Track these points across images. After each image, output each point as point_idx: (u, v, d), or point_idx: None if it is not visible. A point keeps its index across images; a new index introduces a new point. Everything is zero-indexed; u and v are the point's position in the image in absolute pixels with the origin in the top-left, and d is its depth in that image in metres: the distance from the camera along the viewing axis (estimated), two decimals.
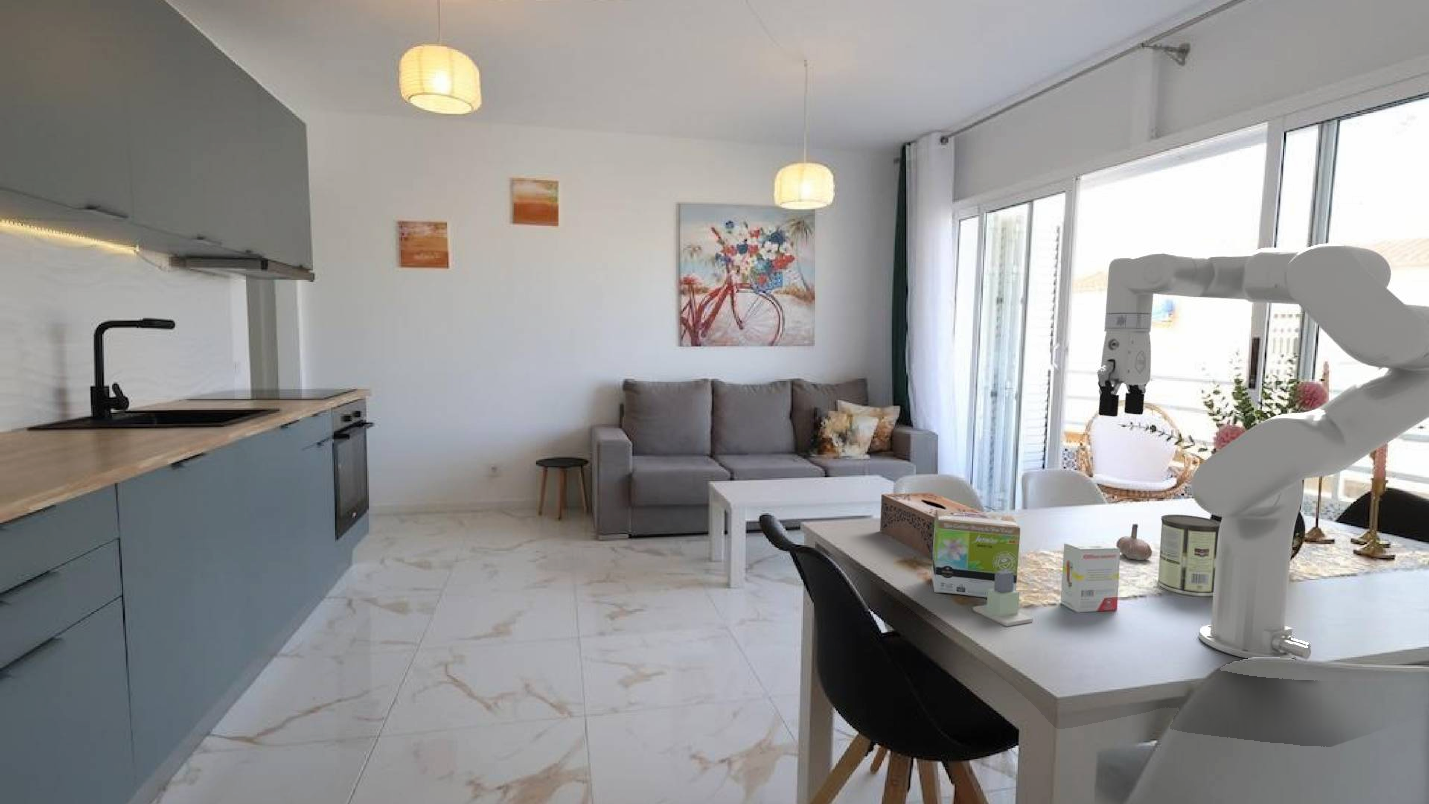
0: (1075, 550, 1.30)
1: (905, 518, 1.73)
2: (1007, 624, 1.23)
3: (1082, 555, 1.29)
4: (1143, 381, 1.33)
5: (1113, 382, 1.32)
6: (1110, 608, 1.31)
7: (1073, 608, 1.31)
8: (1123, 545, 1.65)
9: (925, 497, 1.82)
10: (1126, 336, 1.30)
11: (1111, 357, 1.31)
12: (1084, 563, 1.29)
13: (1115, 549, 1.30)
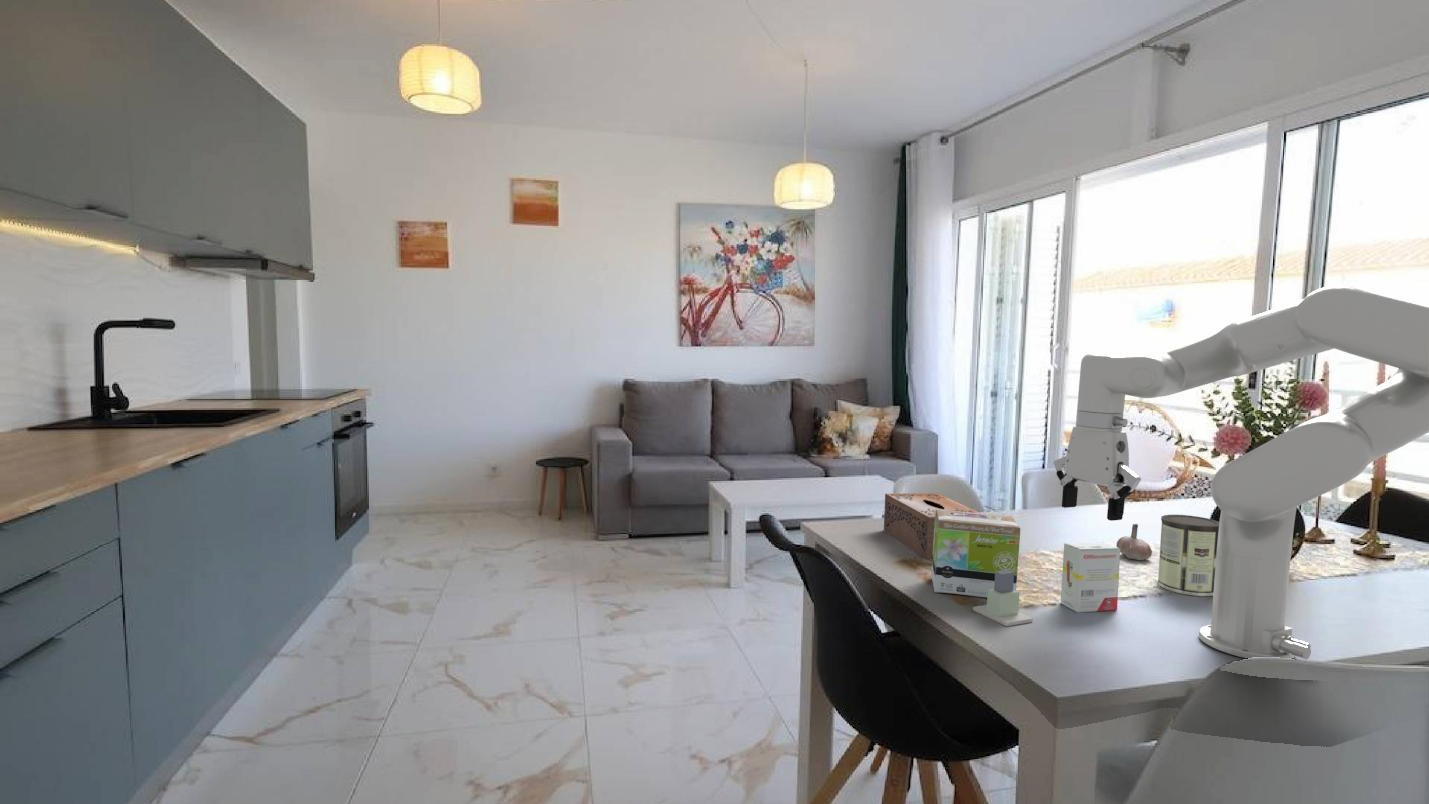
0: (1075, 550, 1.30)
1: (904, 517, 1.73)
2: (1007, 624, 1.23)
3: (1082, 555, 1.29)
4: None
5: (1116, 484, 1.27)
6: (1110, 608, 1.31)
7: (1073, 608, 1.31)
8: (1123, 545, 1.65)
9: (928, 497, 1.82)
10: None
11: (1120, 460, 1.26)
12: (1084, 563, 1.29)
13: (1115, 549, 1.30)
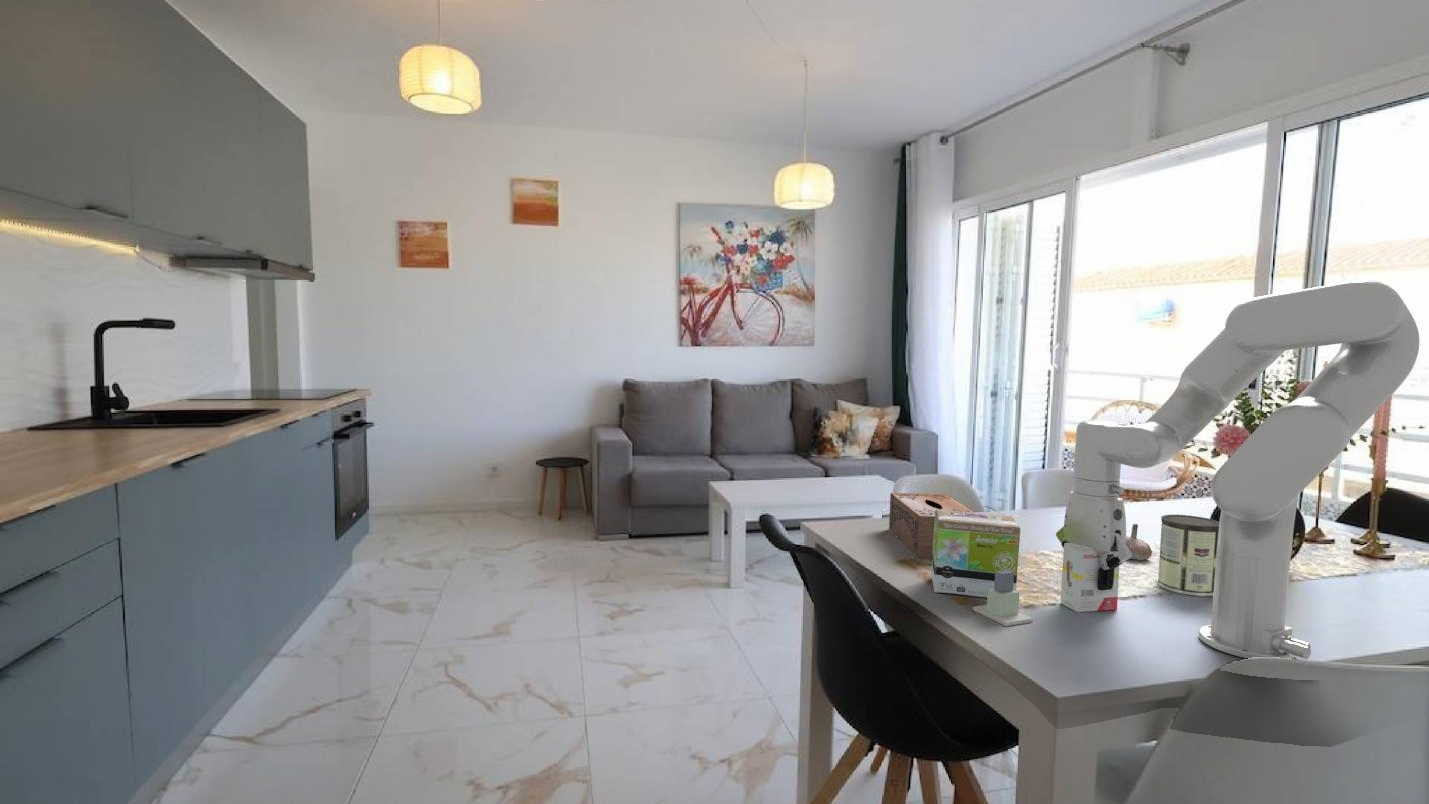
0: (1075, 550, 1.30)
1: (903, 516, 1.74)
2: (1007, 624, 1.23)
3: (1082, 555, 1.29)
4: None
5: (1109, 554, 1.29)
6: (1110, 608, 1.31)
7: (1073, 608, 1.31)
8: None
9: (933, 497, 1.81)
10: (1123, 505, 1.28)
11: (1117, 528, 1.27)
12: (1084, 563, 1.29)
13: (1115, 549, 1.30)
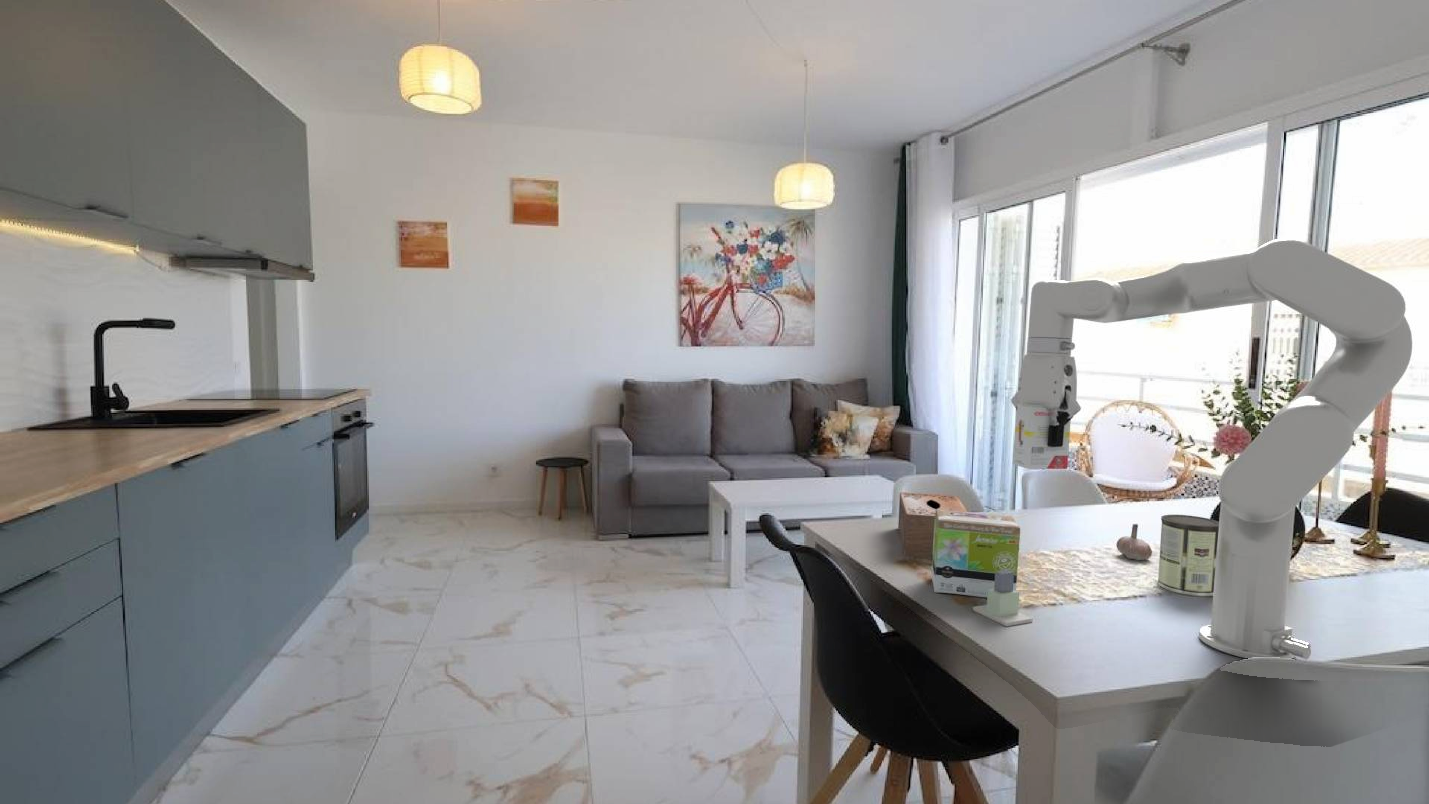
0: (1027, 408, 1.32)
1: (902, 515, 1.76)
2: (1007, 624, 1.23)
3: (1033, 412, 1.31)
4: None
5: (1059, 411, 1.31)
6: (1060, 466, 1.33)
7: (1023, 465, 1.33)
8: (1123, 545, 1.65)
9: (939, 498, 1.81)
10: None
11: (1068, 383, 1.29)
12: (1035, 420, 1.31)
13: (1066, 407, 1.32)
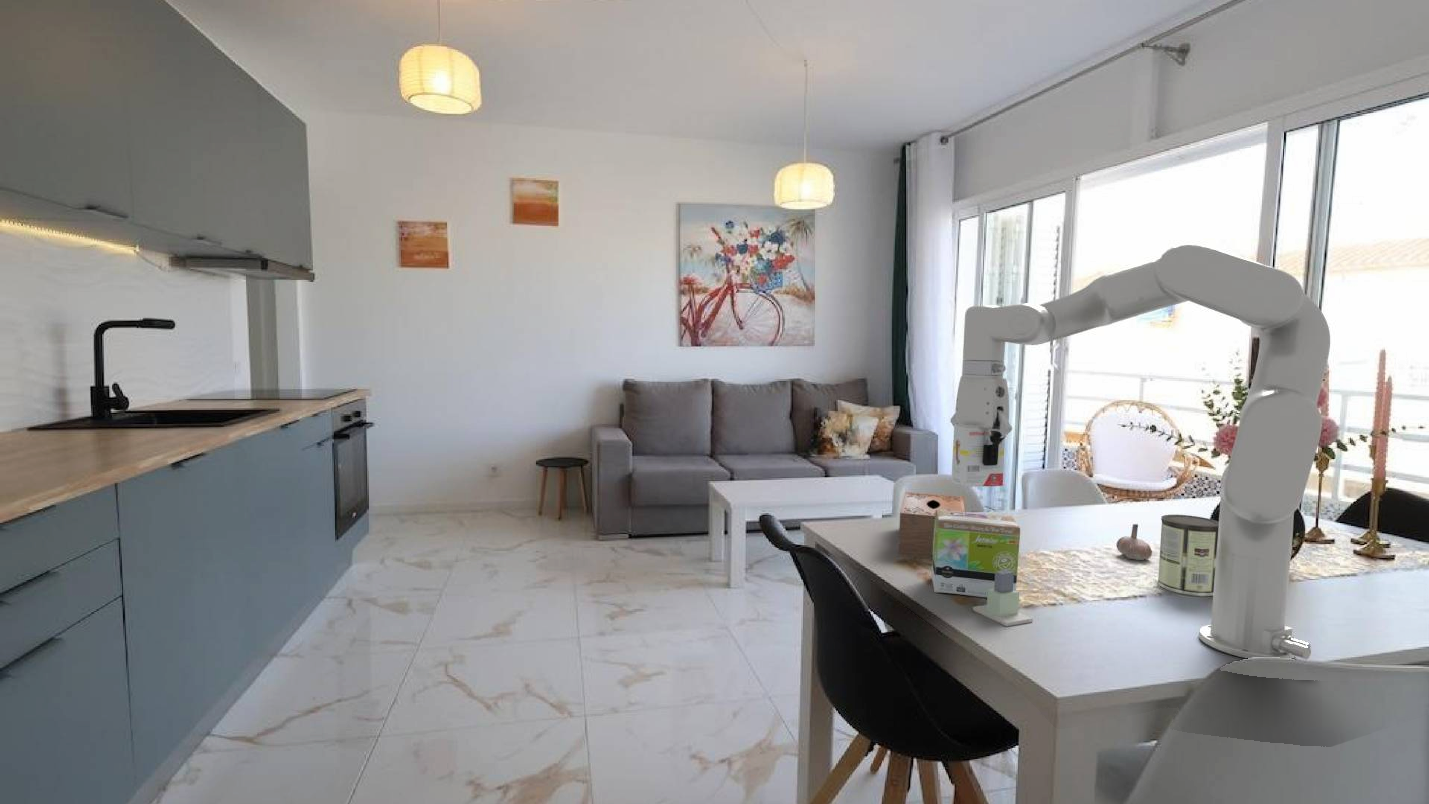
0: (962, 428, 1.37)
1: None
2: (1007, 624, 1.23)
3: (968, 432, 1.36)
4: None
5: (993, 431, 1.36)
6: (996, 484, 1.38)
7: (960, 483, 1.37)
8: (1123, 545, 1.65)
9: (943, 499, 1.80)
10: (1006, 384, 1.35)
11: (1000, 404, 1.34)
12: (970, 439, 1.36)
13: None
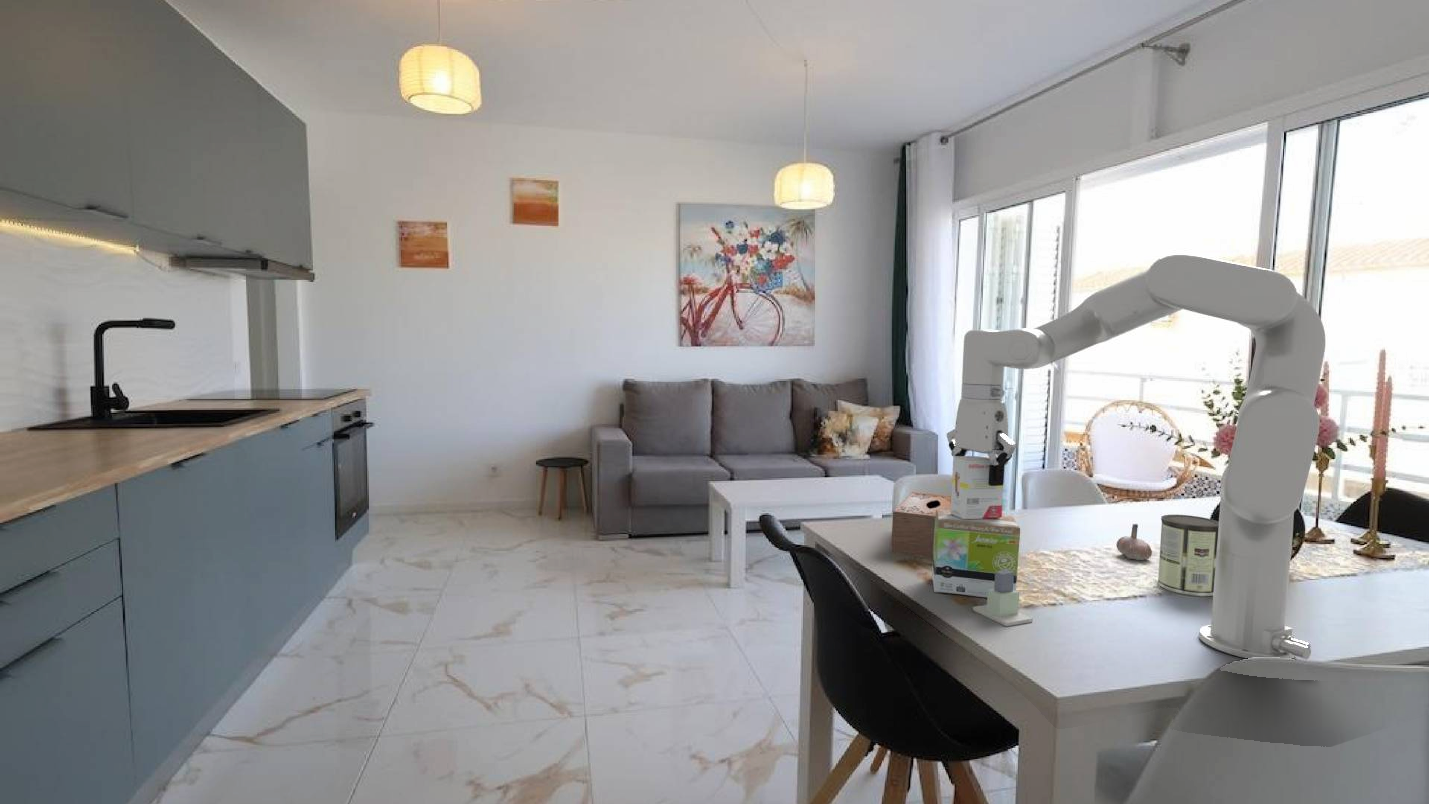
0: (961, 460, 1.37)
1: None
2: (1007, 624, 1.23)
3: (967, 465, 1.37)
4: None
5: (997, 452, 1.35)
6: (995, 516, 1.38)
7: (960, 516, 1.38)
8: (1123, 545, 1.65)
9: (947, 499, 1.80)
10: (1005, 408, 1.35)
11: (999, 428, 1.34)
12: (970, 472, 1.37)
13: None
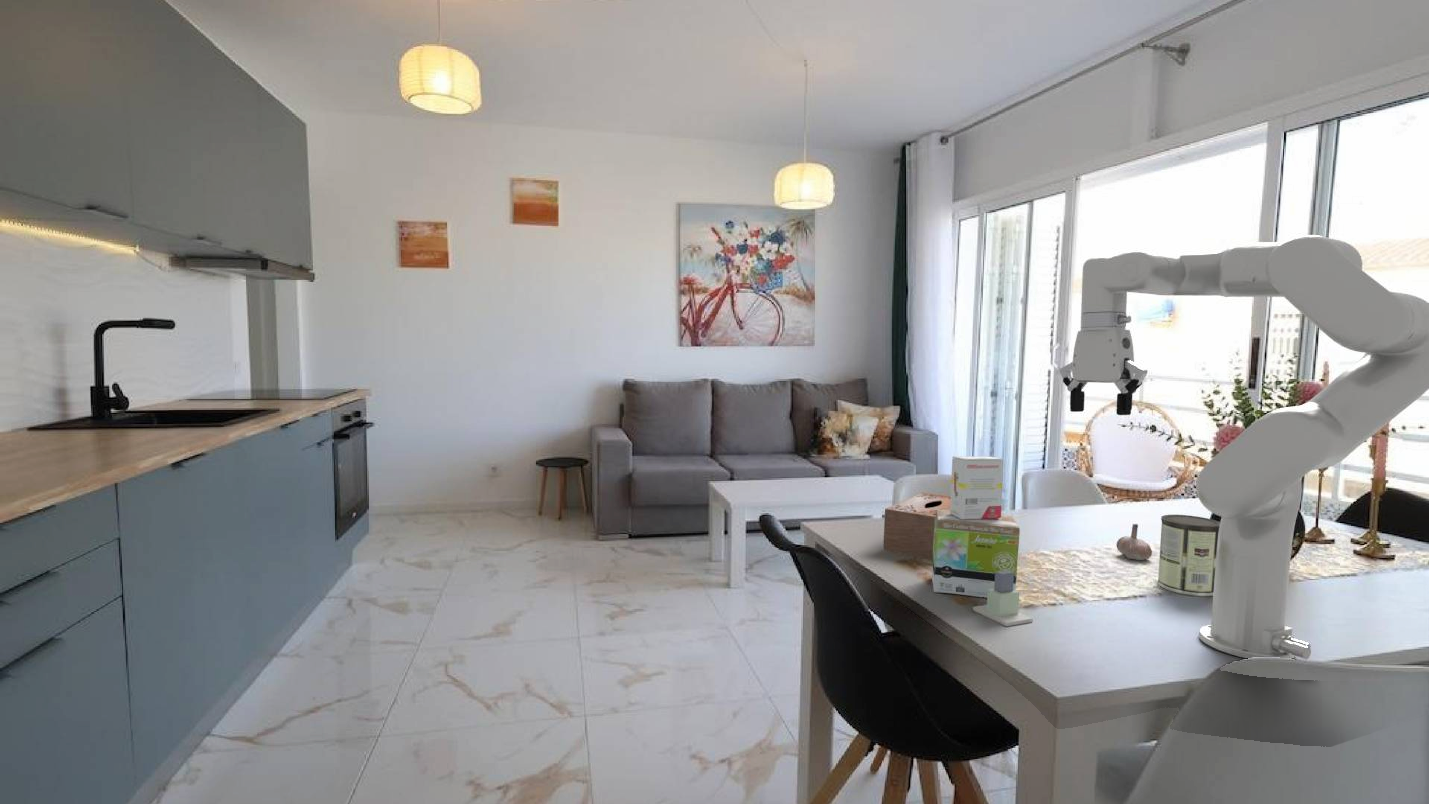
0: (960, 461, 1.38)
1: None
2: (1007, 624, 1.23)
3: (966, 465, 1.37)
4: None
5: (1123, 381, 1.32)
6: (994, 516, 1.38)
7: (958, 516, 1.38)
8: (1123, 545, 1.65)
9: None
10: None
11: (1126, 356, 1.31)
12: (968, 472, 1.37)
13: (998, 460, 1.38)
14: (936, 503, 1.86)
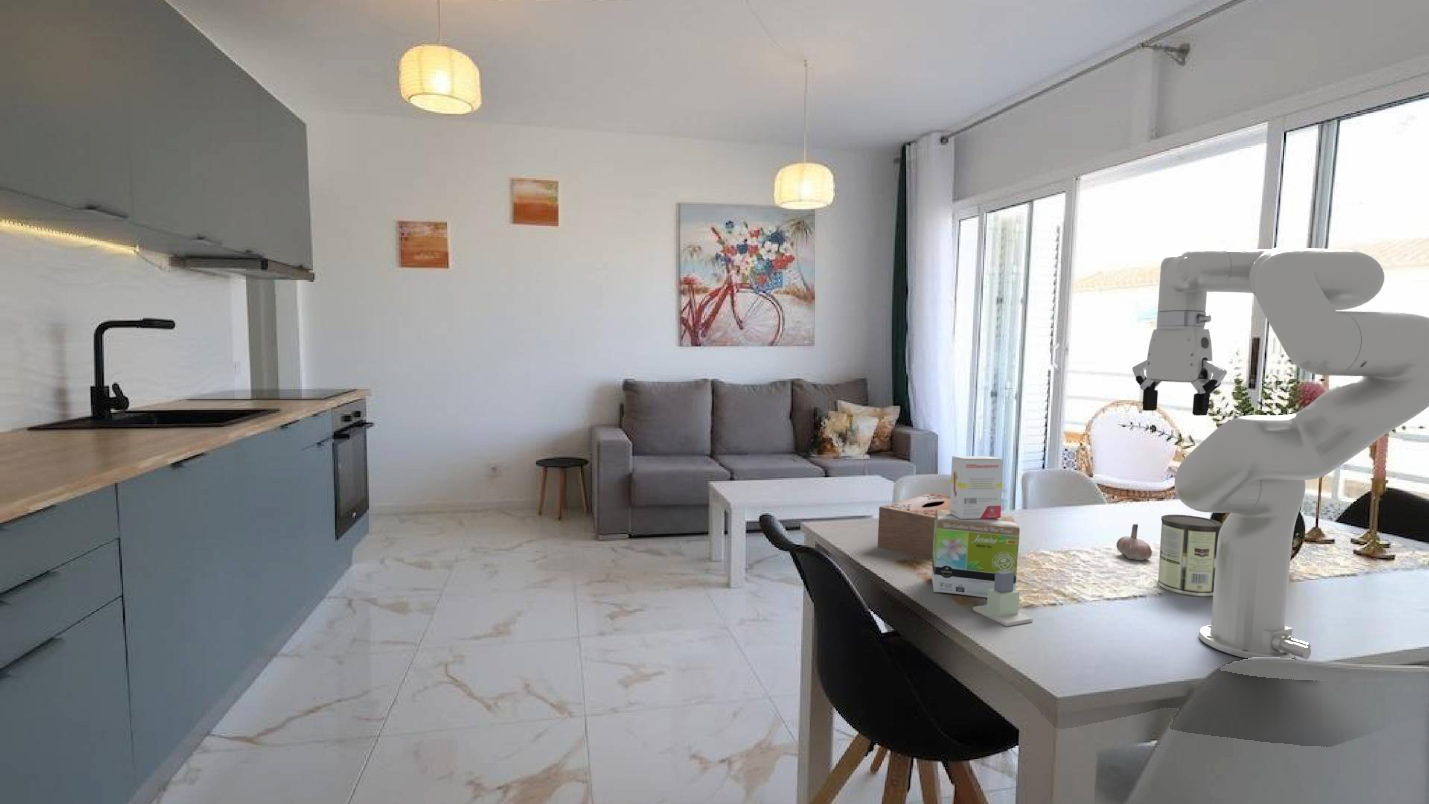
0: (959, 460, 1.38)
1: None
2: (1007, 624, 1.23)
3: (965, 464, 1.37)
4: None
5: (1200, 381, 1.30)
6: (993, 516, 1.38)
7: (957, 515, 1.38)
8: (1123, 545, 1.65)
9: None
10: None
11: (1204, 356, 1.29)
12: (967, 472, 1.37)
13: (997, 459, 1.38)
14: None
